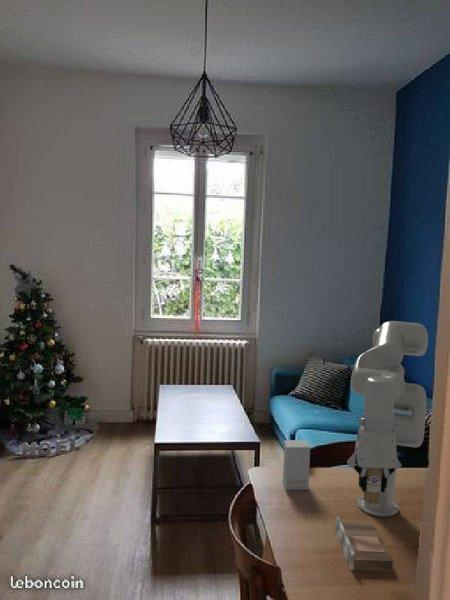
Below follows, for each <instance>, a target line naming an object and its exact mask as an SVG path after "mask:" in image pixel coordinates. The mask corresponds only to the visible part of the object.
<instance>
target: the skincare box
mask: <svg viewBox="0 0 450 600" xmlns="http://www.w3.org/2000/svg"><path fill="white" fill-rule="evenodd" d="M283 443H284V444H283V445H284V446H283V448H284V449H283V467H282V468H283V471H282V483H283V487H284V489H285V491H309V483H310V462H311V461H310V459H311V458H310V457H311V446H310V443H309V442H308V440H307V439H305V440H303V439H302V440H301V439H299V440H298V439H296V440H295V439H293V440H292V439H287V440H286V439H284V442H283Z"/></svg>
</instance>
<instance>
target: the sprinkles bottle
mask: <svg viewBox="0 0 450 600" xmlns="http://www.w3.org/2000/svg"><path fill="white" fill-rule="evenodd" d="M365 476H366V478H367V481H366V491H365V492H364V495H363V494H362V495H363V500H364V501H365V502H367V503H369V504H378V503H379V502H380V491H381V481H382V469H377V468H367V471H366V475H365Z"/></svg>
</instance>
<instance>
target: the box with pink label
mask: <svg viewBox="0 0 450 600" xmlns="http://www.w3.org/2000/svg"><path fill="white" fill-rule="evenodd" d="M334 531H335V533H336V536H337V539H338V542H339V545H340V547H341V549H342V552H343V555H344V557H345V559H346V562H347V565H348V568H349V570H350V571H356V572H357V571H361V572H388V573H393V563H394V561H393V558H392V557H391V554H390V553H389V551H388V549H387V548H386V545H385V543H384V541H383V540H382V537H381V536H380V534H379V532H378V530H377V528H376V527H375V524H374V522H356V521H355V522H354V521H352V522H351V521H342V520H341V518H340V516H336V518H335V530H334Z"/></svg>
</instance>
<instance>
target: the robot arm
mask: <svg viewBox="0 0 450 600" xmlns="http://www.w3.org/2000/svg"><path fill="white" fill-rule="evenodd" d="M428 334H429V333H428V331H427V328H426V327H425V326H424V325H423V324H422V323H418V322H408V321H407V322H406V321H398V320H388V321H385V322H383V323H382V324H381V326H379V328H376V330H374V332H373V334H372V347H371V348H370V349H368V350H366V351H364V352H362V354H360V355H359V356H358V357H357V358H356V360H355V363H354V366H353V369H352V373H351V377H350V388H351V391H352V392H353V393H354V394H356V395H359V396H364V400H363V413H362V415H361V416H362V417H361V418H357V419H356V420H357V424H358V425H360V426H359V429H358V432H357V437H356V441H355V446H354V447H355V448H354V452H353V453H352V454H351V456H349V458H348V459H347V460H346V463H347V465H348V466H349V467H351V468H352V469H354V470H355V472H356V473H357V474H358V487H360V489H361V491H362V492H363V493H362V495H360V496H359V497H358V499H357V501H356V502H357V507H359V509H360V510H362V511H363V512H365V513H366V514H369V515H371V516H375V517H380V518H381V517H383V518H385V517H386V518H388V517H389V518H390V517H393V516H395V515H397V514H398V513H399V505H398V503H396V501H395V500H394V499H395V492H396V491H395V490H396V478H397V470H398V469H400V468H401V467H402V463H401V462H400V461H399V459H398V456H397V454H398V453H397V446H404V447H410V448H419V447H421V445H422V444H423V442H424V438H425V426H426V425H425V424H426V413H427V412H426V411H427V393H426V390H425V389H426V388H424V387H423V386H422V385H420V384H417V383H410V382H406V381H405V379H404V378H405V368H404V367H403V365H402V364H401V363H402V362H403V358H404V356H405V355H406V356H414V357H421V356H424V355H425V354H426V352H427V349H428V345H429V335H428ZM397 412H398V413H397ZM402 413H403V414H402ZM367 468H377V469H382V481H381V491H380V502H379V503H378V504H369V503H367V502H365V501H364V500H363V495H364V492H365V491H366V481H367V478H366V476H365V475H366V471H367Z"/></svg>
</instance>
